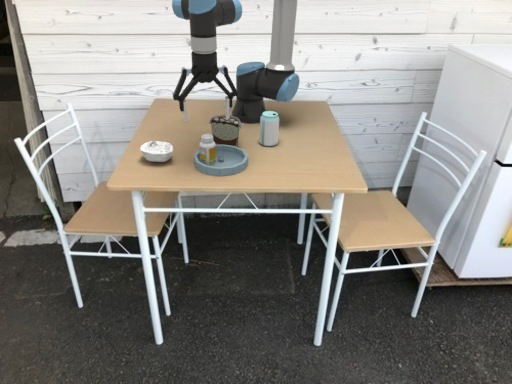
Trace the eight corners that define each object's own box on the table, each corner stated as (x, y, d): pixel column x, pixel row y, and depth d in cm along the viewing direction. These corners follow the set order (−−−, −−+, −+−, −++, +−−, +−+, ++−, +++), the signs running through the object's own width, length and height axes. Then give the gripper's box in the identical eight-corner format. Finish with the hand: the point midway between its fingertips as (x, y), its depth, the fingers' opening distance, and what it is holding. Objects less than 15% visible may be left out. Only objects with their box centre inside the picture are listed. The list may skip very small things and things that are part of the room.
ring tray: (240, 149, 151) (240, 142, 149) (253, 172, 136) (253, 165, 134) (191, 154, 146) (191, 147, 145) (199, 178, 131) (199, 171, 130)
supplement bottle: (216, 158, 142) (215, 132, 137) (216, 165, 137) (215, 139, 132) (200, 158, 142) (199, 132, 136) (199, 166, 137) (198, 139, 132)
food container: (245, 142, 156) (246, 117, 151) (240, 148, 151) (240, 123, 146) (216, 137, 160) (215, 112, 154) (209, 143, 155) (209, 118, 149)
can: (268, 138, 160) (269, 108, 154) (281, 143, 156) (283, 113, 150) (255, 143, 156) (256, 113, 150) (268, 149, 152) (270, 118, 145)
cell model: (161, 170, 135) (159, 152, 132) (135, 161, 141) (132, 143, 137) (181, 159, 143) (180, 141, 139) (156, 150, 148) (154, 133, 144)
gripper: (241, 46, 126) (241, 111, 137) (159, 49, 120) (166, 117, 131) (248, 52, 120) (247, 119, 131) (162, 55, 114) (168, 126, 125)
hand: (206, 118), depth 131 cm, fingers open, 13 cm apart
